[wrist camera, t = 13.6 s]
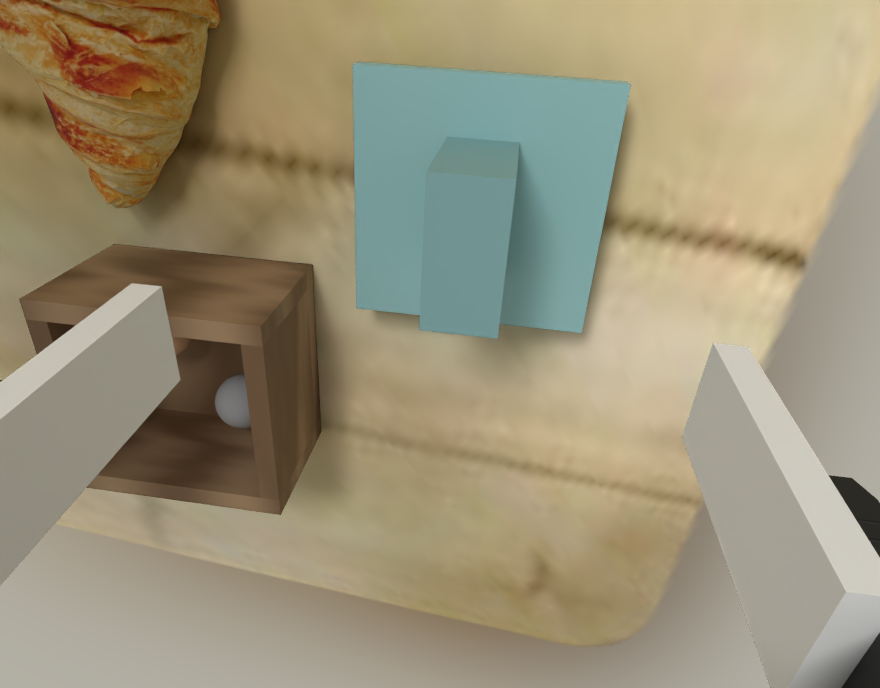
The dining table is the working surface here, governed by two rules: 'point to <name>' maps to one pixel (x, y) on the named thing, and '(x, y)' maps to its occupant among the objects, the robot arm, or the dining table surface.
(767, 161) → the dining table surface
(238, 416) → the ball
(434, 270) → the lid
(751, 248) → the dining table surface
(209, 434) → the box
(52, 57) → the croissant
